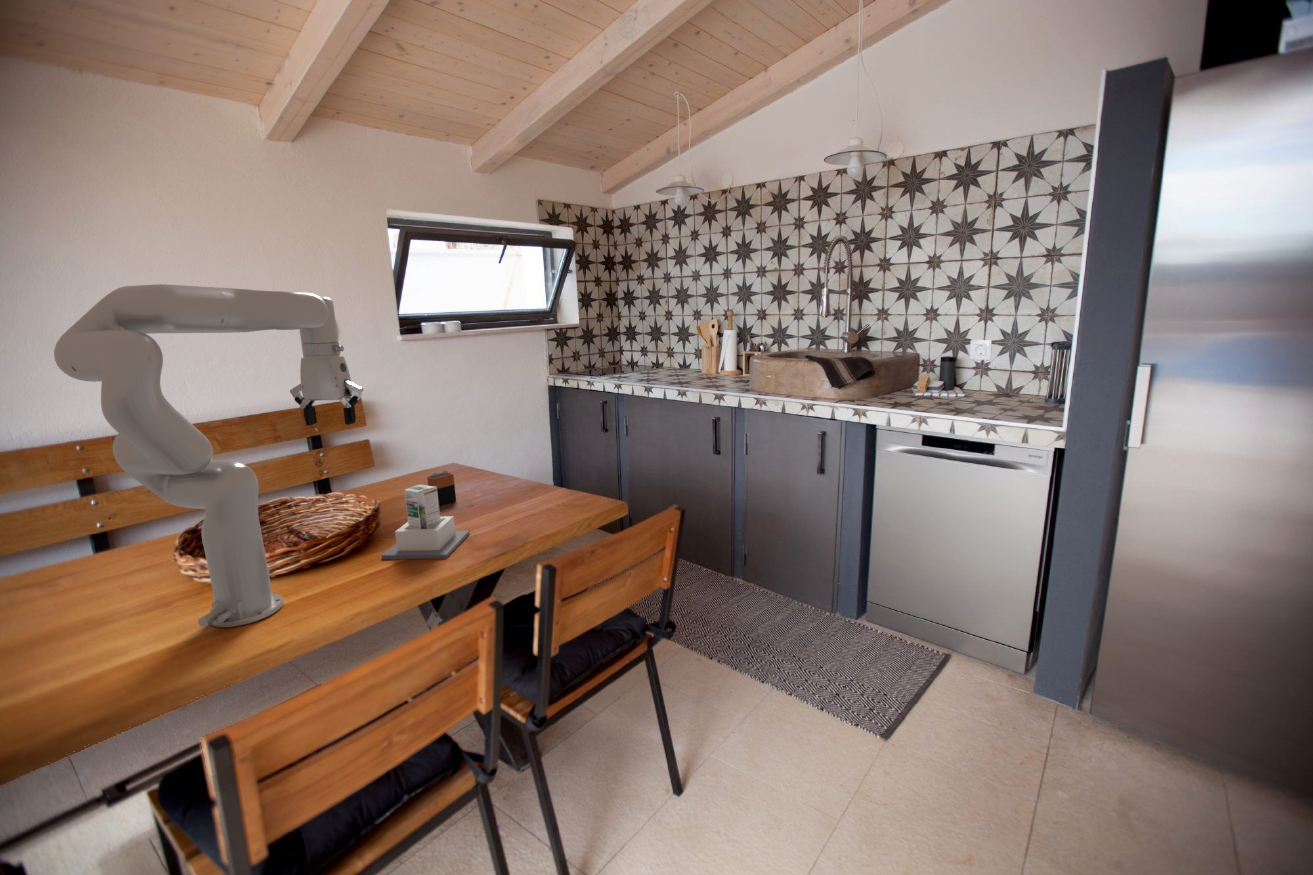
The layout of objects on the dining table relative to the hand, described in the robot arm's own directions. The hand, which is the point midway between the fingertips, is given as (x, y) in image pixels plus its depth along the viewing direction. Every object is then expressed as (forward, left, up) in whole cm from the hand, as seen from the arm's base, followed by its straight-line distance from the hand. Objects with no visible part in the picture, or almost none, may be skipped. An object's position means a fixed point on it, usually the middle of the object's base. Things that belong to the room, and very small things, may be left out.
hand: (331, 424), depth 144 cm
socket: (+6, -17, -33) cm, 38 cm away
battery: (+41, -7, -34) cm, 53 cm away
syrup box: (+6, -17, -32) cm, 37 cm away
